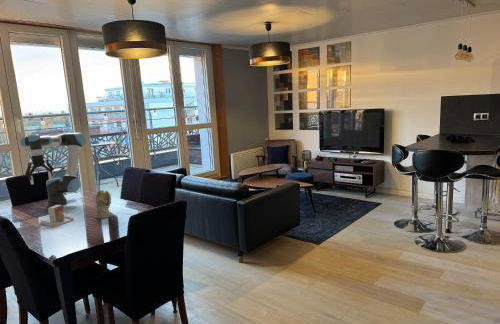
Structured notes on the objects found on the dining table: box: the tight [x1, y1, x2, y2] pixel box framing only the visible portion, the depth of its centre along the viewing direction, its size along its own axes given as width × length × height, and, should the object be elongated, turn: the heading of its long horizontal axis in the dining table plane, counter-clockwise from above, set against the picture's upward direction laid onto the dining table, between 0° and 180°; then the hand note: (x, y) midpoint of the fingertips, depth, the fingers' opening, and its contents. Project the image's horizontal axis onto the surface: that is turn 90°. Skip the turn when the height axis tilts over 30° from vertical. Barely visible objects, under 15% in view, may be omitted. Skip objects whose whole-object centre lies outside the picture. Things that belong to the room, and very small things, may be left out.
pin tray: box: [40, 212, 74, 228], centre depth 247 cm, size 14×18×8 cm
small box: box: [47, 205, 65, 222], centre depth 247 cm, size 8×6×10 cm
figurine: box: [95, 190, 113, 220], centre depth 252 cm, size 12×12×20 cm
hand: (41, 182), depth 261 cm, fingers open, 13 cm apart
